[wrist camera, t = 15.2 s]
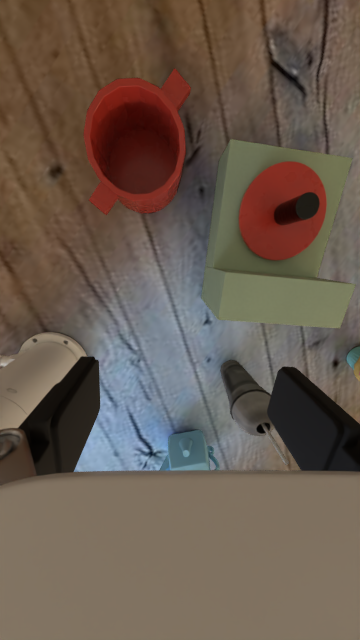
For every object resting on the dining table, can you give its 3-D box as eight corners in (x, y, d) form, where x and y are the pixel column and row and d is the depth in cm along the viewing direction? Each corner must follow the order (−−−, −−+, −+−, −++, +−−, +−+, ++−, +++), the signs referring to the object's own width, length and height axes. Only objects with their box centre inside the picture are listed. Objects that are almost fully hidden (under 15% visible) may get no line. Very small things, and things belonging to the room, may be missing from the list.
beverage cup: (231, 347, 42) (285, 426, 23) (254, 367, 43) (321, 454, 25) (207, 371, 43) (239, 464, 24) (230, 389, 45) (277, 488, 26)
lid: (219, 220, 28) (233, 211, 22) (284, 141, 26) (318, 109, 20) (274, 276, 31) (299, 281, 26) (336, 211, 29) (380, 200, 23)
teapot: (216, 463, 52) (227, 510, 42) (162, 472, 52) (162, 522, 42) (208, 408, 46) (219, 448, 37) (148, 419, 46) (143, 462, 36)
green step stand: (219, 159, 31) (253, 98, 19) (320, 174, 33) (413, 127, 20) (201, 298, 38) (217, 319, 26) (285, 305, 39) (340, 328, 27)
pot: (81, 191, 31) (52, 169, 23) (147, 87, 28) (140, 19, 20) (140, 242, 34) (132, 238, 26) (206, 153, 31) (221, 117, 23)
